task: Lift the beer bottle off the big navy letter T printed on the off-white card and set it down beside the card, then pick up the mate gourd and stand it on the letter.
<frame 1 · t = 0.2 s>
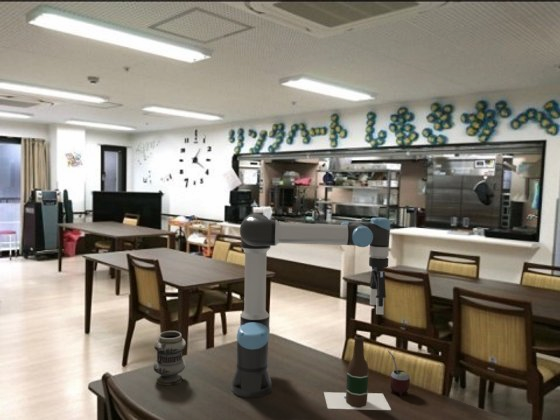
hand: (376, 309, 182), 28 cm above the table, tool pointing down, fingers open, 13 cm apart
letter card: (356, 401, 163), on the table
mate gourd: (397, 393, 170), on the table
beer bottle: (356, 403, 162), on the table, touching letter card
apothecary jar: (169, 380, 176), on the table
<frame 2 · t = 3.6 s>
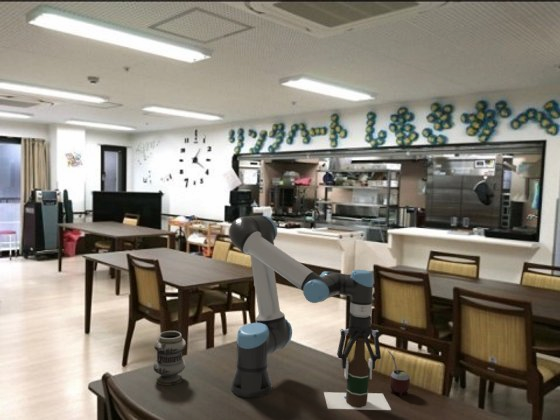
hand: (357, 377, 161), 9 cm above the table, tool pointing down, fingers closed on beer bottle, 8 cm apart
beer bottle: (356, 402, 162), on the table, touching gripper, letter card
everything else where it was.
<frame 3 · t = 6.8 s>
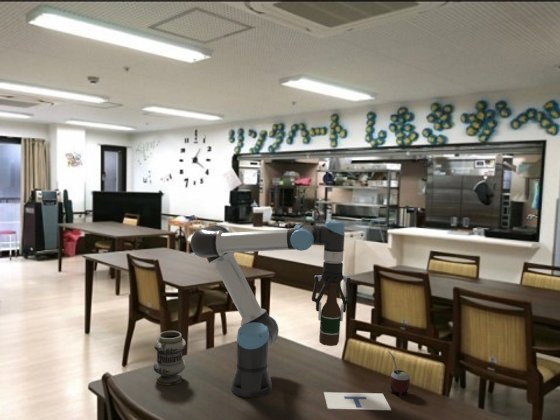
hand: (330, 319, 176), 25 cm above the table, tool pointing down, fingers closed on beer bottle, 8 cm apart
beer bottle: (328, 343, 176), point 16 cm above the table, touching gripper
everything else where it was.
when the fingers open (11 cm above the table, at t = 10.3 s): beer bottle drops 2 cm, on the table.
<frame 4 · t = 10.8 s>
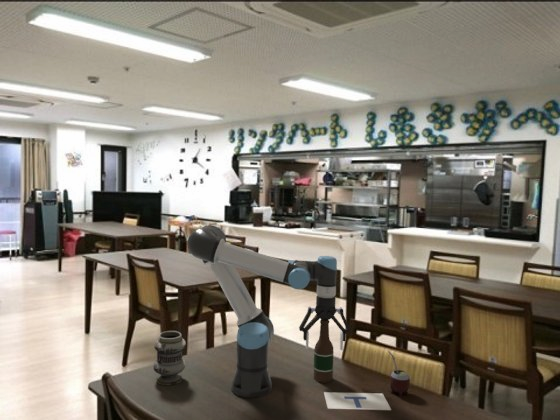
hand: (324, 348, 180), 12 cm above the table, tool pointing down, fingers open, 13 cm apart
beer bottle: (323, 379, 180), on the table
everything else where it was.
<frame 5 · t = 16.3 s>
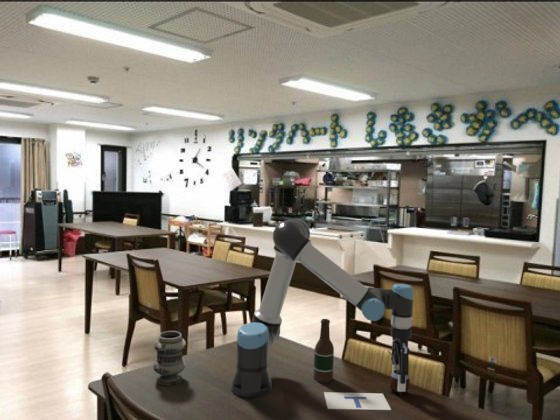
hand: (398, 386, 170), 3 cm above the table, tool pointing down, fingers closed on mate gourd, 7 cm apart
mate gourd: (397, 393, 171), on the table, touching gripper
everything else where it was.
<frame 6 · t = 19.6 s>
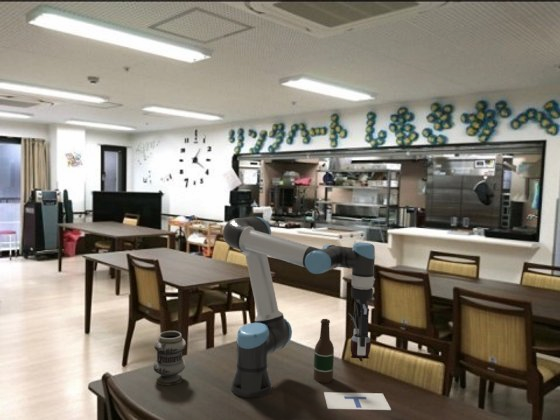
hand: (359, 350, 161), 19 cm above the table, tool pointing down, fingers closed on mate gourd, 7 cm apart
mate gourd: (358, 358, 161), point 16 cm above the table, touching gripper
everything else where it was.
when the fingers open (4 cm above the table, at t = 22.8 s): mate gourd drops 1 cm, resting on letter card.
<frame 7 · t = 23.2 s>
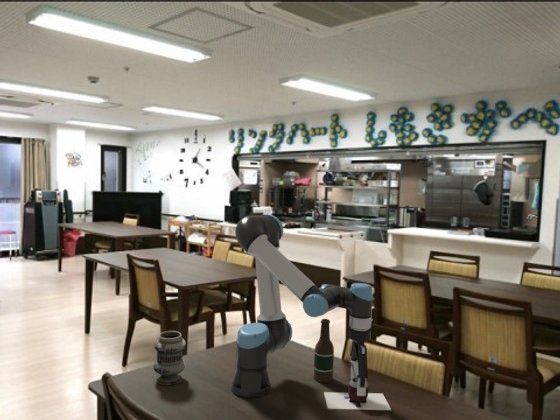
hand: (357, 386, 162), 6 cm above the table, tool pointing down, fingers open, 13 cm apart
mate gourd: (356, 402, 162), resting on letter card
everything else where it was.
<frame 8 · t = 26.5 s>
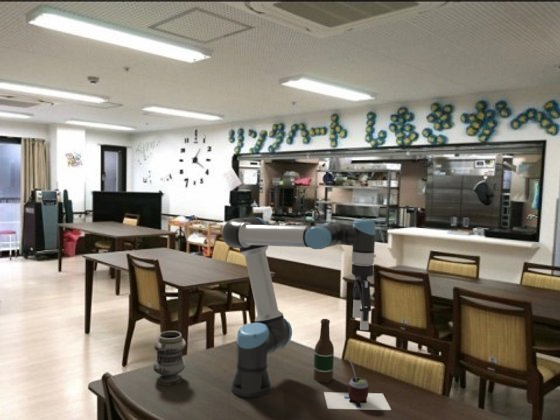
hand: (360, 323, 160), 29 cm above the table, tool pointing down, fingers open, 13 cm apart
nothing on the table moved.
at the end: mate gourd inside the target area (0.1 cm from its centre), resting on letter card; mate gourd tilted 0°; beer bottle inside the target area (0.3 cm from its centre), on the table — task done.
